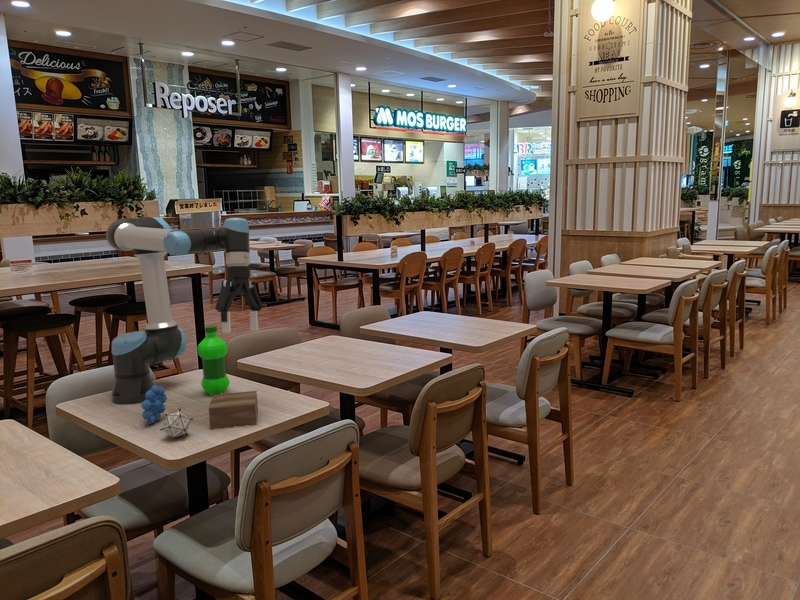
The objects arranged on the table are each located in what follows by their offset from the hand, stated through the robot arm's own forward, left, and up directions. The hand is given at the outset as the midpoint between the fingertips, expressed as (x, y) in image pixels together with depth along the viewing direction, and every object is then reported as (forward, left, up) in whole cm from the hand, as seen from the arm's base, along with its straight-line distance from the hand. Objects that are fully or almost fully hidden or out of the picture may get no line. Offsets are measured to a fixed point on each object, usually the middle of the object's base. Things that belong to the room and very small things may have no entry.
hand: (240, 331), depth 198 cm
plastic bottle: (-26, -13, -28) cm, 40 cm away
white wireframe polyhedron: (+15, -20, -28) cm, 37 cm away
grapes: (-1, -30, -28) cm, 41 cm away
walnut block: (+4, -4, -28) cm, 29 cm away
